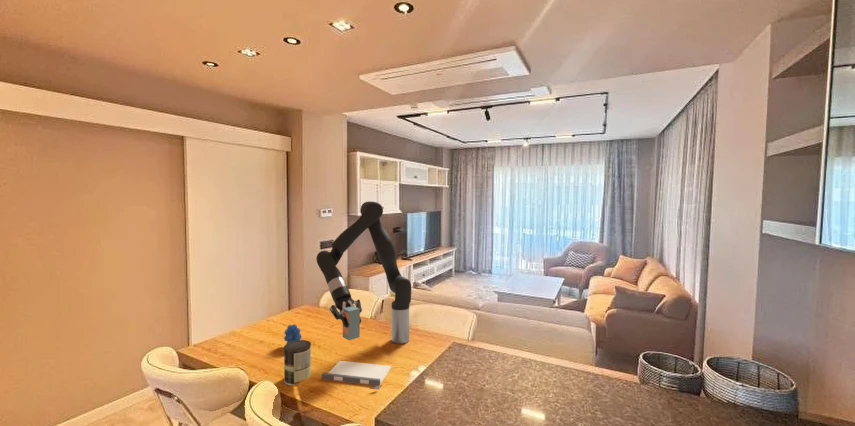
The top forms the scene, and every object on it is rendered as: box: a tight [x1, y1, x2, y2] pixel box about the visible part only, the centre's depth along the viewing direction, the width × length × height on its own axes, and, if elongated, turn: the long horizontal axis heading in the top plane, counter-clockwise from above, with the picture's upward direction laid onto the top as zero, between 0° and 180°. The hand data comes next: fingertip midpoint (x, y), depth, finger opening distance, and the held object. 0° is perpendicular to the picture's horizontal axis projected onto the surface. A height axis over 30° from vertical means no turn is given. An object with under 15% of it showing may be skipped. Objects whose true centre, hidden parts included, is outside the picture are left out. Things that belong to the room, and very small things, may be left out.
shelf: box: [321, 360, 393, 390], centre depth 141 cm, size 16×24×4 cm
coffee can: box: [283, 339, 312, 387], centre depth 138 cm, size 10×10×14 cm
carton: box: [342, 305, 361, 341], centre depth 142 cm, size 5×5×12 cm
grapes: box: [283, 323, 302, 344], centre depth 169 cm, size 12×7×12 cm, turn 59°
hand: (353, 324), depth 141 cm, fingers closed on carton, 5 cm apart
